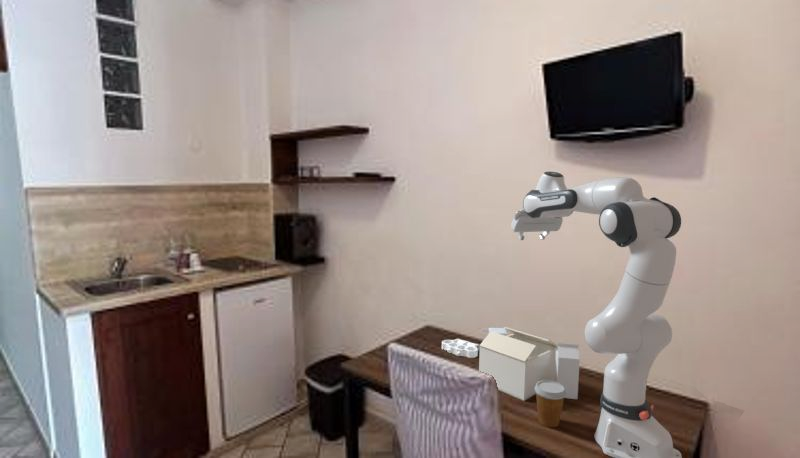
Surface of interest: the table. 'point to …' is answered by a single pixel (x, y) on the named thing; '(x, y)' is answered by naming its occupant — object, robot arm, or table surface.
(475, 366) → the table surface
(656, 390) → the table surface
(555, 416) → the disposable coffee cup
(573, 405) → the table surface
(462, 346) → the knuckle duster
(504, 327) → the far flap
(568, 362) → the milk carton
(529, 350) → the near flap
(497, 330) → the supplement box
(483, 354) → the carton
